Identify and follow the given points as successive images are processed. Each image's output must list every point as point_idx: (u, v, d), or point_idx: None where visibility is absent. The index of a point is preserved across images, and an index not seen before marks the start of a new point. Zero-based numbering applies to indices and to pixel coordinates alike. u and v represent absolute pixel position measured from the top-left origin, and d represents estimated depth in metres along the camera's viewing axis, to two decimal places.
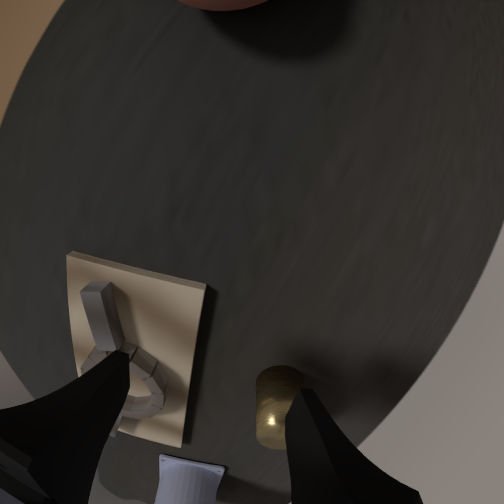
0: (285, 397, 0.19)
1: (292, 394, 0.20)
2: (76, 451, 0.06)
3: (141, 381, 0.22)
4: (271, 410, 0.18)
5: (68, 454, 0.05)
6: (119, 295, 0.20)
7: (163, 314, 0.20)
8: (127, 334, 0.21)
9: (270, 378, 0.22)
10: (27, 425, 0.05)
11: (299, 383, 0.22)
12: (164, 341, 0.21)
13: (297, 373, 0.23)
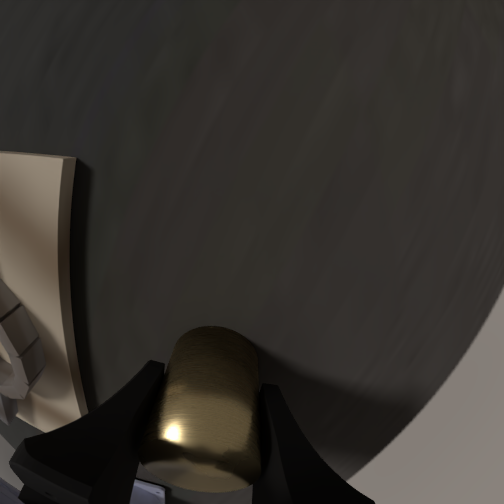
0: (202, 387, 0.09)
1: (220, 381, 0.09)
2: (123, 469, 0.06)
3: None
4: (165, 411, 0.08)
5: (117, 474, 0.05)
6: None
7: (17, 215, 0.10)
8: None
9: (187, 347, 0.11)
10: (76, 450, 0.05)
11: (245, 362, 0.11)
12: (22, 266, 0.10)
13: (245, 343, 0.12)
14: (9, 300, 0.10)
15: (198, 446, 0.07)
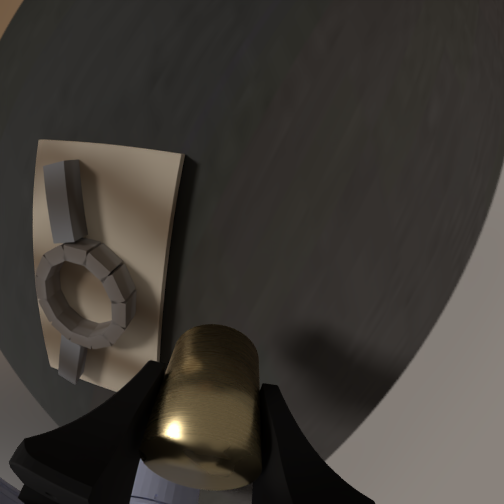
0: (203, 384, 0.09)
1: (221, 378, 0.09)
2: (123, 469, 0.06)
3: (104, 297, 0.19)
4: (166, 408, 0.08)
5: (117, 474, 0.05)
6: (86, 175, 0.16)
7: (133, 192, 0.16)
8: (91, 226, 0.17)
9: (188, 345, 0.11)
10: (75, 450, 0.05)
11: (246, 360, 0.11)
12: (132, 231, 0.17)
13: (246, 341, 0.12)
14: (115, 259, 0.17)
15: (199, 443, 0.07)
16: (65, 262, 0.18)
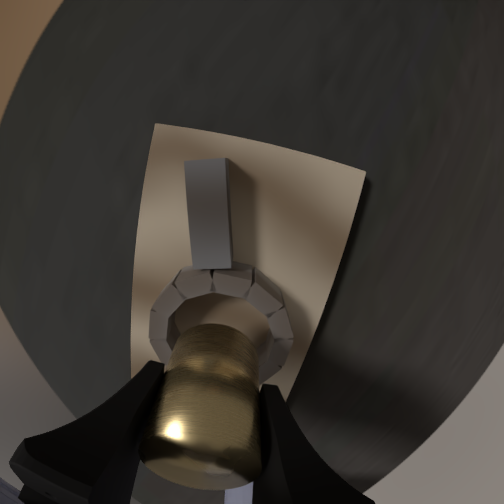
0: (203, 383, 0.09)
1: (221, 377, 0.09)
2: (123, 469, 0.06)
3: (243, 330, 0.17)
4: (166, 407, 0.08)
5: (117, 474, 0.05)
6: (239, 180, 0.14)
7: (306, 209, 0.15)
8: (239, 246, 0.15)
9: (188, 344, 0.11)
10: (76, 450, 0.05)
11: (246, 359, 0.11)
12: (298, 254, 0.15)
13: (246, 341, 0.12)
14: (275, 287, 0.15)
15: (199, 443, 0.07)
16: None
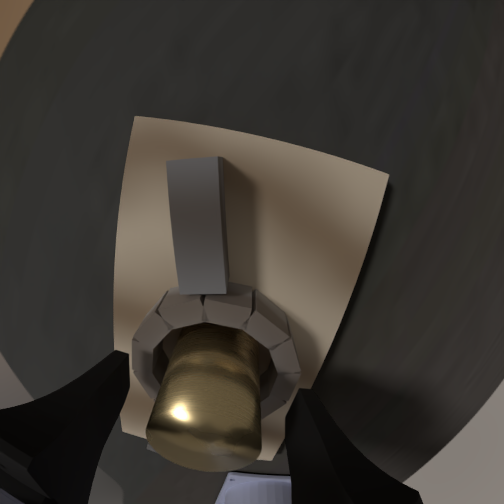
0: (207, 366, 0.10)
1: (223, 361, 0.10)
2: (76, 451, 0.06)
3: None
4: (173, 388, 0.09)
5: (68, 454, 0.05)
6: (236, 184, 0.11)
7: (318, 219, 0.12)
8: (237, 264, 0.13)
9: (192, 332, 0.12)
10: (28, 425, 0.05)
11: (247, 346, 0.12)
12: (307, 273, 0.13)
13: None
14: (279, 312, 0.13)
15: (203, 420, 0.08)
16: None
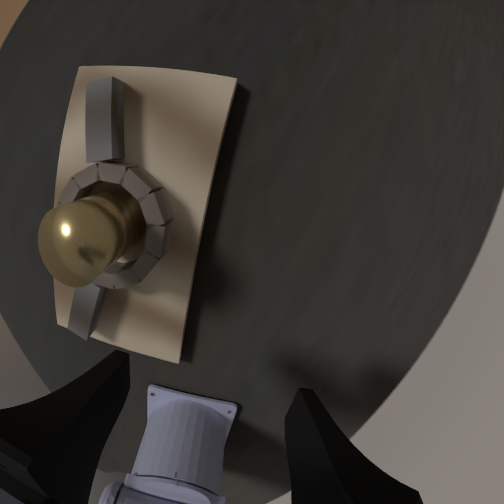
0: (87, 198, 0.13)
1: (99, 198, 0.14)
2: (76, 451, 0.06)
3: None
4: None
5: (68, 454, 0.05)
6: (130, 97, 0.15)
7: (182, 113, 0.15)
8: (129, 149, 0.16)
9: None
10: (27, 425, 0.05)
11: (127, 202, 0.15)
12: (176, 153, 0.16)
13: (134, 198, 0.16)
14: (154, 181, 0.16)
15: (66, 215, 0.11)
16: (92, 192, 0.17)
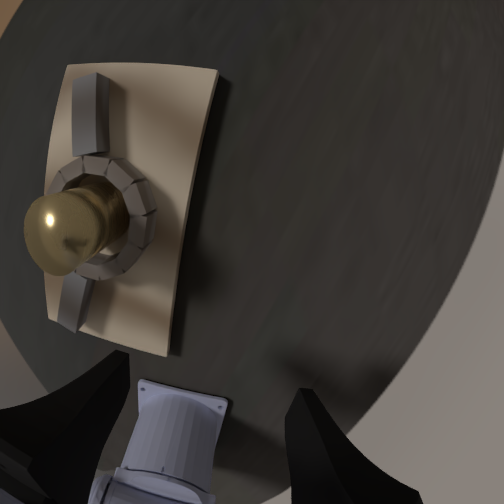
0: (71, 189, 0.13)
1: (83, 189, 0.13)
2: (76, 451, 0.06)
3: None
4: None
5: (68, 454, 0.05)
6: (115, 92, 0.15)
7: (164, 106, 0.15)
8: (114, 143, 0.16)
9: None
10: (27, 425, 0.05)
11: (111, 194, 0.15)
12: (159, 144, 0.16)
13: (119, 190, 0.16)
14: (138, 173, 0.16)
15: (49, 204, 0.11)
16: (80, 185, 0.17)
